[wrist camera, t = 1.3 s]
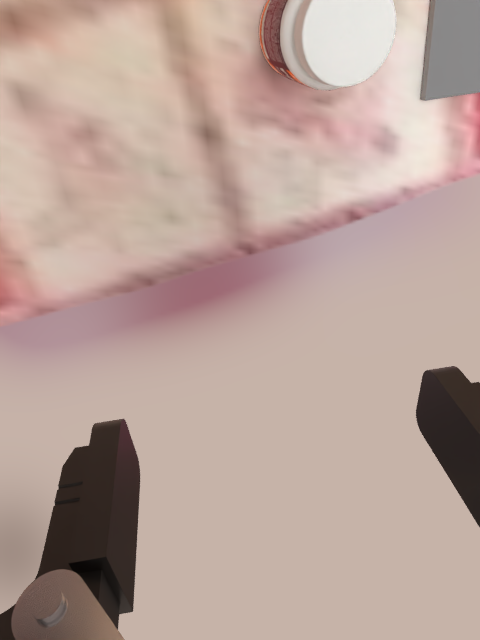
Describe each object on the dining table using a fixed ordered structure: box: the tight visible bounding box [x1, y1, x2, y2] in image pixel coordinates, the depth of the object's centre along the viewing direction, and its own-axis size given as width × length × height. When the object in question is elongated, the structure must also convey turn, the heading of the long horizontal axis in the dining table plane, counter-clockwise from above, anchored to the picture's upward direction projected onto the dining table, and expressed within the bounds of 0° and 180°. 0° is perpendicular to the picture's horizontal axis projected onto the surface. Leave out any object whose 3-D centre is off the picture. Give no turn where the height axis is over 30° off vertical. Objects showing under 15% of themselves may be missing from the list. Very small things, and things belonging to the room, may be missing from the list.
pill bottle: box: [259, 0, 396, 91], centre depth 22 cm, size 5×5×8 cm
